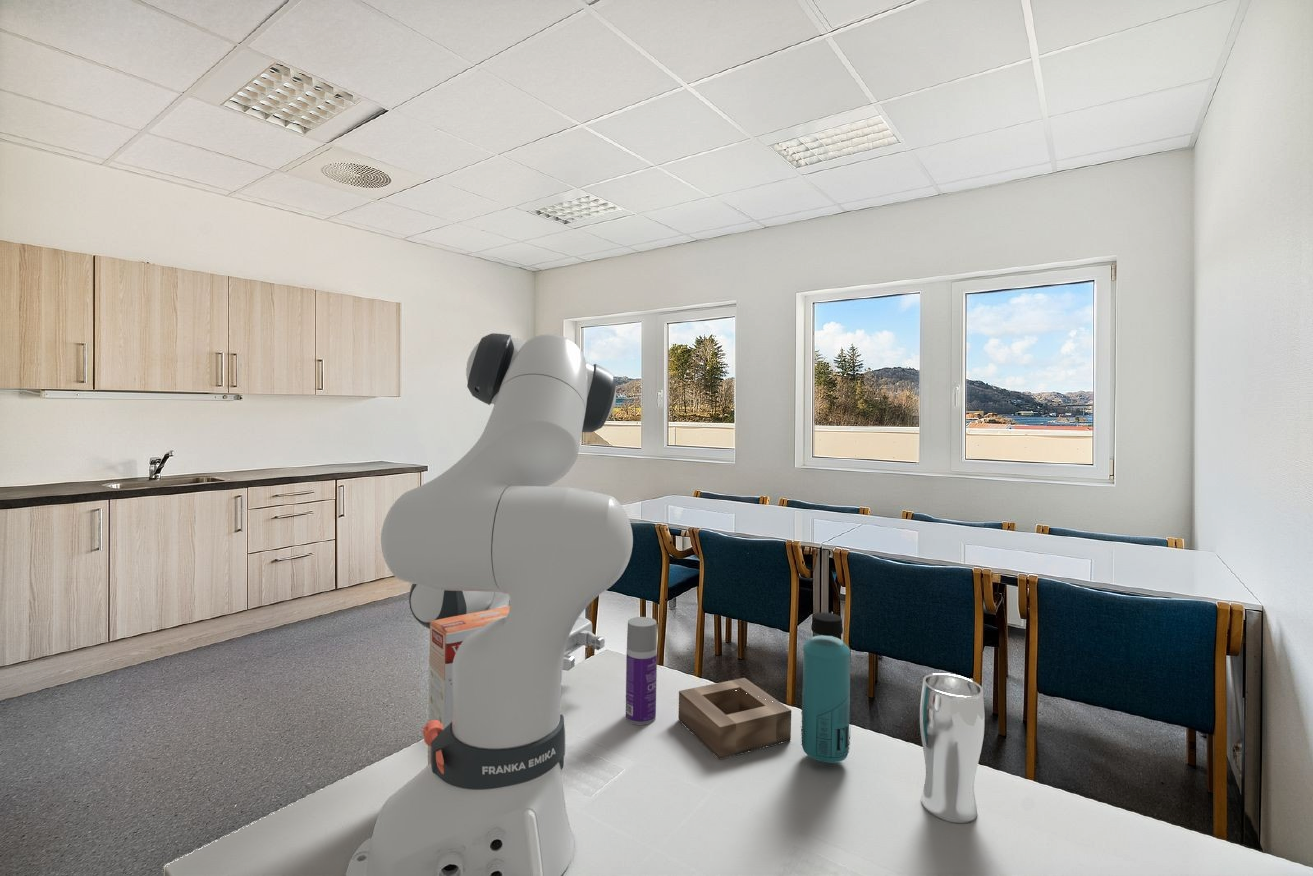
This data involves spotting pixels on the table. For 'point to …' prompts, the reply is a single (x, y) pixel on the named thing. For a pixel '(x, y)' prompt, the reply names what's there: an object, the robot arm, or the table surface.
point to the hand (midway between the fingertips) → (588, 653)
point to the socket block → (734, 717)
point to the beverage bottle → (826, 691)
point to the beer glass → (951, 744)
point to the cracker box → (450, 658)
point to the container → (641, 670)
